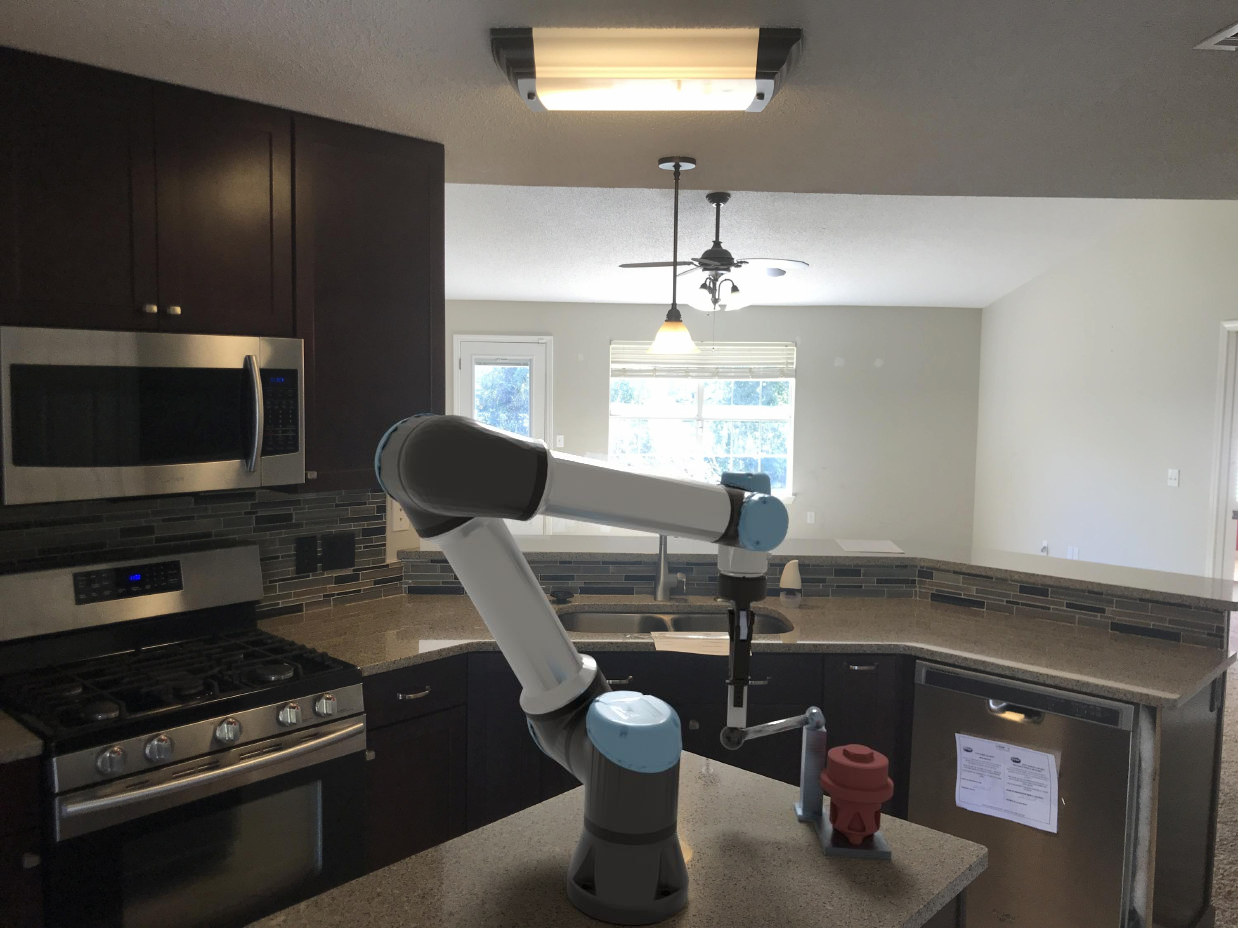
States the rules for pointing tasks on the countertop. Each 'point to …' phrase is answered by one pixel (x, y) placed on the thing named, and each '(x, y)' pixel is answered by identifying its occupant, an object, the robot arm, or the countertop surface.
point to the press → (815, 811)
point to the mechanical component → (856, 789)
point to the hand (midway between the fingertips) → (736, 725)
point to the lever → (771, 728)
